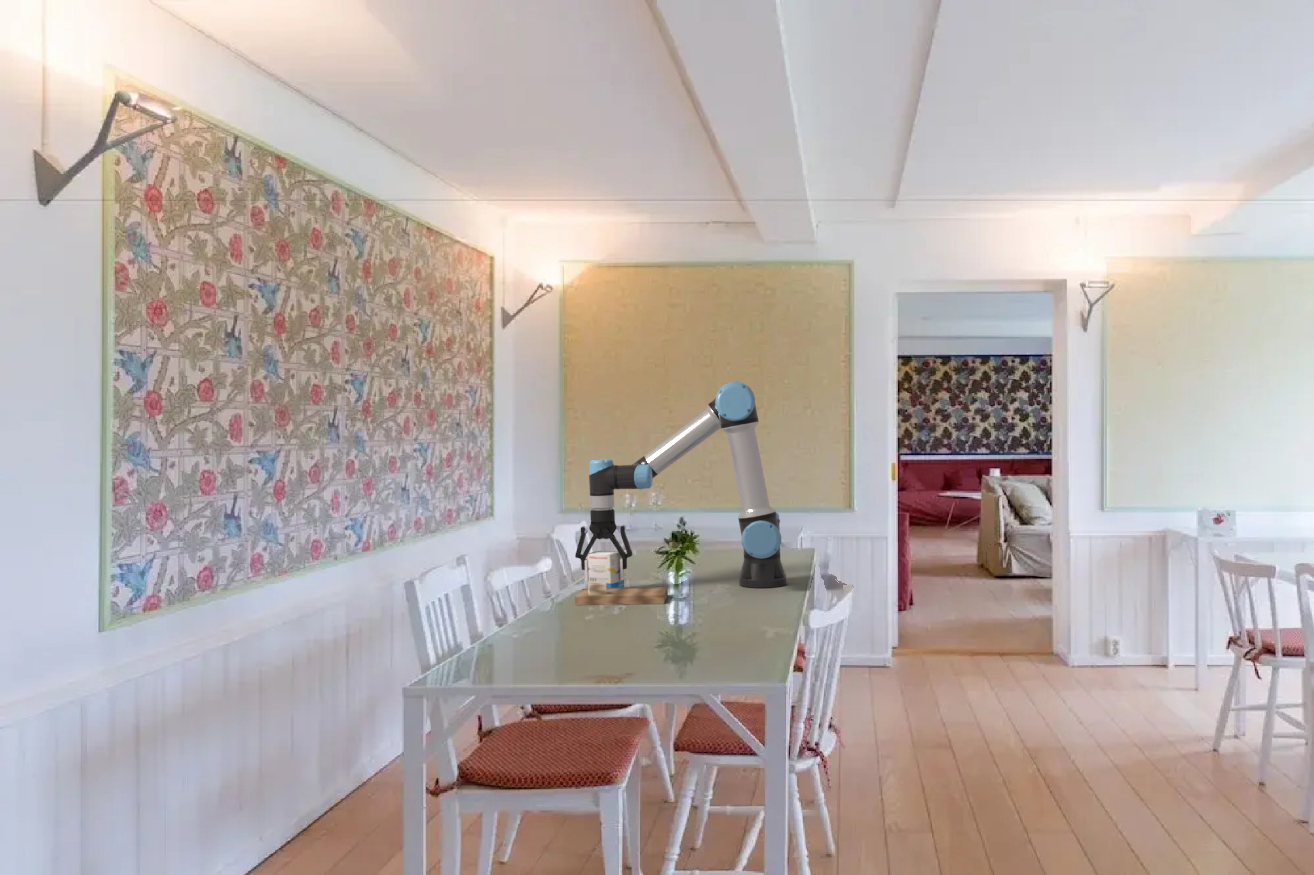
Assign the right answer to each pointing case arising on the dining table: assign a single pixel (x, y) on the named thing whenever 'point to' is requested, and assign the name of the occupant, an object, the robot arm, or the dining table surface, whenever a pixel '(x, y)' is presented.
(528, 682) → the dining table surface
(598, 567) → the ink box
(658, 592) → the board
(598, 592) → the beech offcut
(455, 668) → the dining table surface
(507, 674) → the dining table surface
